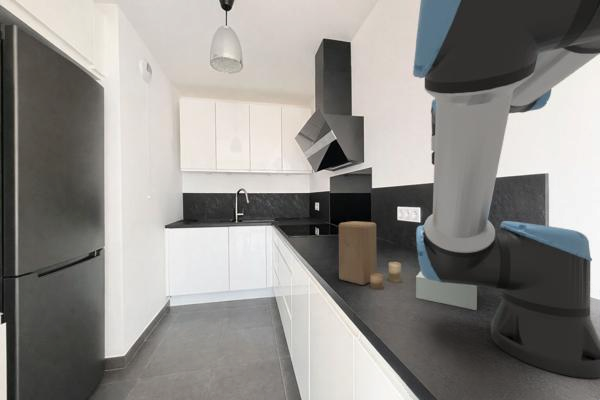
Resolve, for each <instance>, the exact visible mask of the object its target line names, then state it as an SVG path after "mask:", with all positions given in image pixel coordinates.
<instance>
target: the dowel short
mask: <svg viewBox="0 0 600 400" xmlns="http://www.w3.org/2000/svg"><path fill="white" fill-rule="evenodd" d="M369 284H370V285H369V287H370V289H373V290H376V291H378V290H379V291H380V290H384V274H382V273H372V274H370V282H369Z"/></svg>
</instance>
